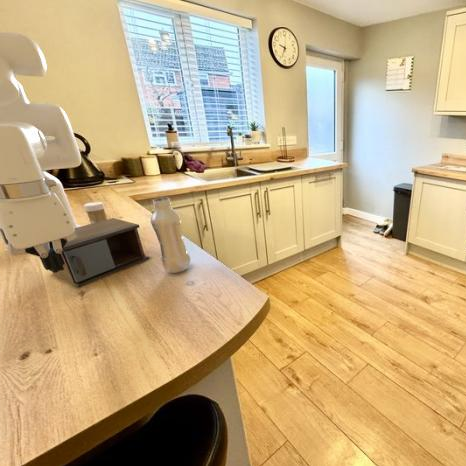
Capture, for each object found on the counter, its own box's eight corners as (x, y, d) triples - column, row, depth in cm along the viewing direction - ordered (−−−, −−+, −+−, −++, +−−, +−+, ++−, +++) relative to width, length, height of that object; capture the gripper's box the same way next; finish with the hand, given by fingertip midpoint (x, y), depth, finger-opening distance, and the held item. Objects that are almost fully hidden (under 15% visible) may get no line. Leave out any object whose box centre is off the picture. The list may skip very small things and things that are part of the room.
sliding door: (75, 281, 71) (63, 251, 67) (113, 267, 78) (104, 238, 74) (83, 285, 69) (70, 254, 66) (121, 269, 76) (111, 241, 73)
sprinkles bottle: (114, 243, 94) (101, 204, 88) (96, 247, 91) (82, 206, 86) (115, 239, 97) (103, 200, 92) (98, 241, 95) (84, 202, 90)
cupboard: (53, 274, 75) (36, 237, 71) (123, 249, 90) (113, 217, 86) (78, 287, 70) (62, 247, 66) (149, 258, 85) (139, 224, 80)
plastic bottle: (197, 266, 81) (182, 197, 73) (177, 277, 75) (158, 204, 67) (180, 262, 83) (163, 194, 75) (158, 273, 77) (138, 201, 69)
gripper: (60, 181, 65) (87, 253, 72) (-44, 196, 53) (1, 282, 60) (77, 184, 62) (104, 259, 69) (-29, 201, 50) (17, 291, 57)
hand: (56, 269), depth 64 cm, fingers closed
